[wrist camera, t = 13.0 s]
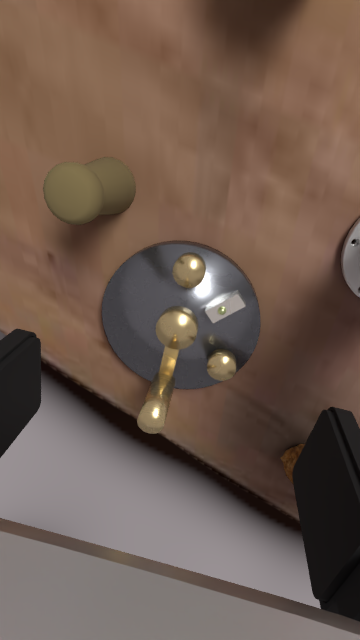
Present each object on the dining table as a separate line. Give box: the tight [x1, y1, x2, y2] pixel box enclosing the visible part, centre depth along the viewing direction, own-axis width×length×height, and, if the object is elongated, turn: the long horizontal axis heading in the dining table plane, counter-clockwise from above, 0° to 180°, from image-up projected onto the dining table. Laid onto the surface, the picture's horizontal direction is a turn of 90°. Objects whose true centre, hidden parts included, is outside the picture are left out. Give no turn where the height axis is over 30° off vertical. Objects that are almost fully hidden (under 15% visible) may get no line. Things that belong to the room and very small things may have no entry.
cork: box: [43, 157, 135, 225], centre depth 33 cm, size 6×6×11 cm
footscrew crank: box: [137, 306, 198, 434], centre depth 39 cm, size 12×5×9 cm, turn 168°
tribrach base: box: [102, 241, 260, 389], centre depth 42 cm, size 20×20×4 cm
